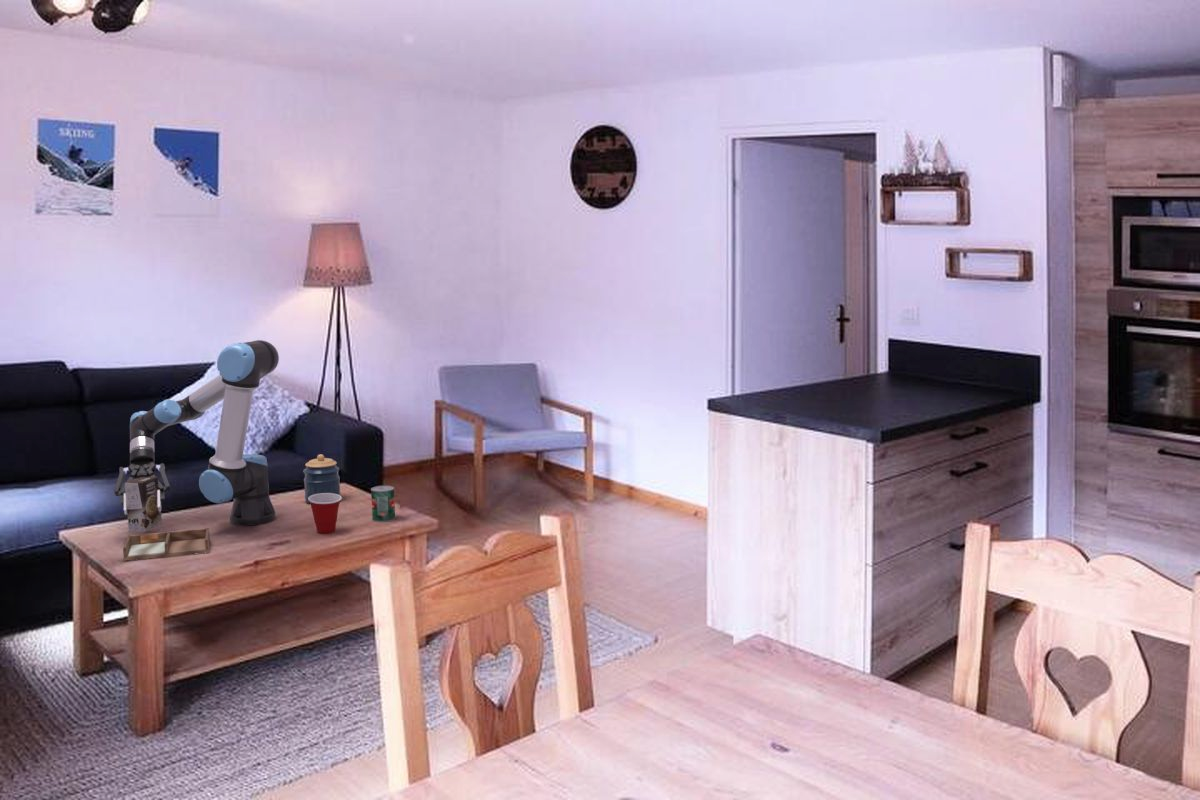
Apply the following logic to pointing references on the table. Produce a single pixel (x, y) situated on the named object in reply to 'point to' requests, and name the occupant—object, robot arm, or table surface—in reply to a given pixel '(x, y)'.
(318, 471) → the canister
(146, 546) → the tray
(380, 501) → the canned tomato
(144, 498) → the coffee box
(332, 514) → the plastic cup
